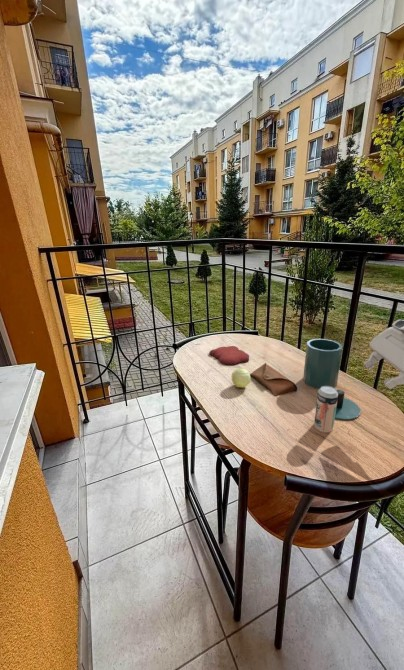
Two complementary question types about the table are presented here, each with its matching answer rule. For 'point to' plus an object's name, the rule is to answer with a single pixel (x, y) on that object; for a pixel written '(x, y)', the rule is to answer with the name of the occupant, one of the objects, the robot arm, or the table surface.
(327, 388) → the beer can
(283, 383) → the sunglasses case
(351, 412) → the lid
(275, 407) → the table surface
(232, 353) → the red cloth
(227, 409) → the table surface
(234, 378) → the tennis ball
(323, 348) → the tin
